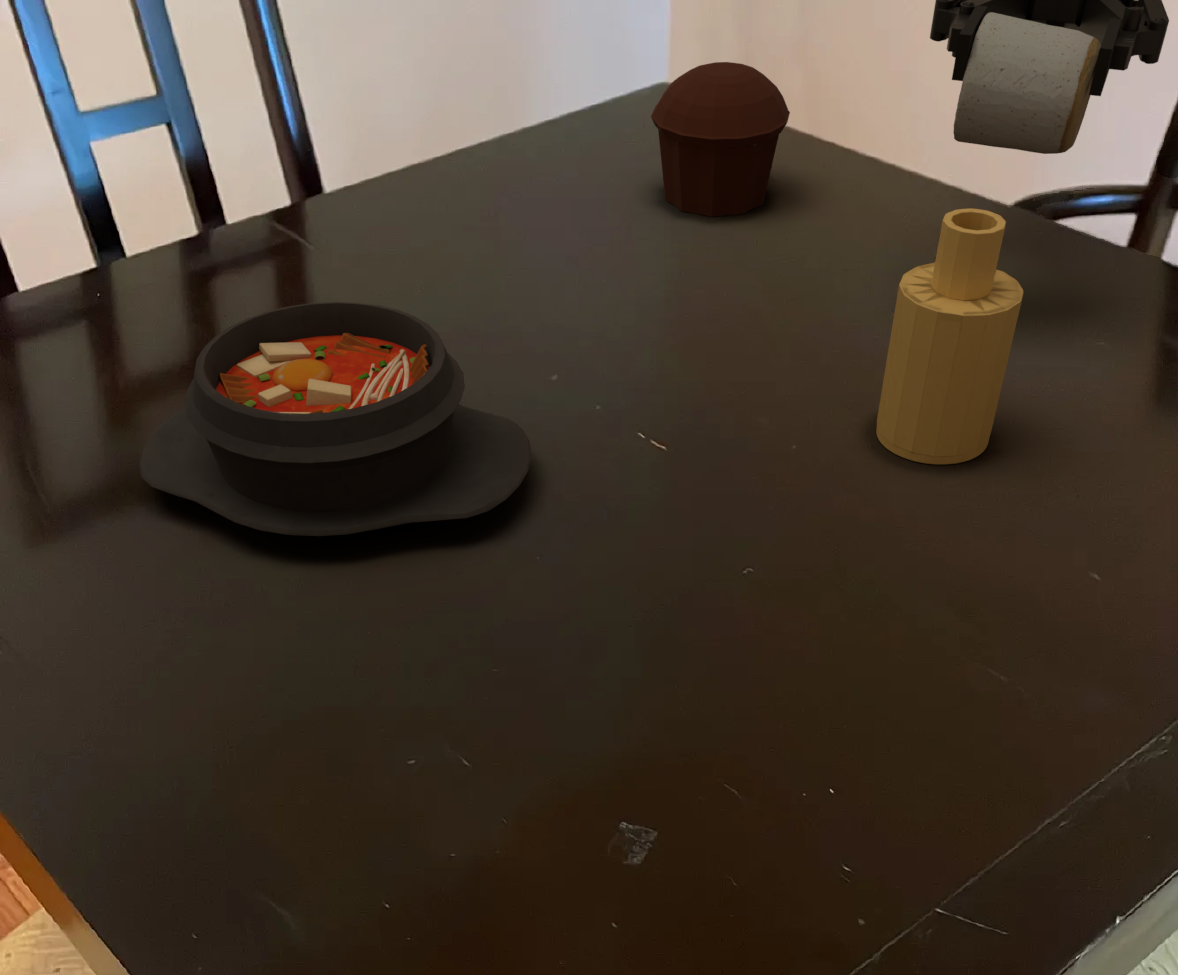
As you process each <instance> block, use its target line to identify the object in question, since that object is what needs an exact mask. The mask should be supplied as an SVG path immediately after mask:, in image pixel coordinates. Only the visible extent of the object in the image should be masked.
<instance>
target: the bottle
mask: <svg viewBox="0 0 1178 975" xmlns="http://www.w3.org/2000/svg"><path fill="white" fill-rule="evenodd" d="M1006 226H1007V221H1006V220H1005V219H1004V218H1003V216H1002V215H1000V214H999V213H998V214H997V213H995V212H993V211H990V210H986V209H980V208H958V209H954V210H951V211H948V212H946V213H945V215H944V216H943V218H942V222H941V227H940V232H939V238H938V239H939V240H938V244H937V250H936V255H935V261H934V262H931V263H927V264H922V265H918V266H915V267H914V268H912V269H911V270H908V271H907V272H905V273H903V275H902V277H901V279H900V281H899V284H898V289H897V295H896V301H895V307H894V314H893V320H892V325H891V331H890V338H889V344H888V350H887V356H886V362H885V370H884V375H883V381H882V386H881V391H880V392H881V393H880V398H879V405H878V411H877V417H876V428H875V429H876V430H875V431H876V437H877V439H878V441H879V442H880V443H881V446H883V447H884V448H885V449H886V450H887V451H890V452H891V453H893V455H896V456H898V457H901V458H903V459H906V460H909V461H912V462H916V463H921V464H928V465H954V464H955V465H956V464H960V463H964V462H968V461H971V460H973V459H975V458H977V457H978V456H980V455H981V454H982V453H984V452H985V450H986V449H987V447H988V446H989V441H990V437H991V433H992V431H993V427H994V422H995V417H996V412H997V408H998V404H999V400H1000V396H1001V391H1002V387H1003V383H1004V379H1005V374H1006V370H1007V367H1008V366H1007V365H1008V361H1009V356H1010V353H1011V348H1012V345H1013V340H1014V337H1015V331H1016V327H1017V323H1018V319H1019V315H1020V310H1021V306H1022V302H1023V297H1024V290H1023V287H1022V286H1021V285H1020V282H1019V281H1018V280H1017V279H1016V278H1014V277H1012V276H1011V275H1010V274H1008V273H1006V272H1005V271H1003V270H999V269H997V267H998V262H999V258H1000V254H1001V253H1000V252H1001V249H1002V244H1003V238H1004V235H1005V230H1006Z"/></svg>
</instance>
